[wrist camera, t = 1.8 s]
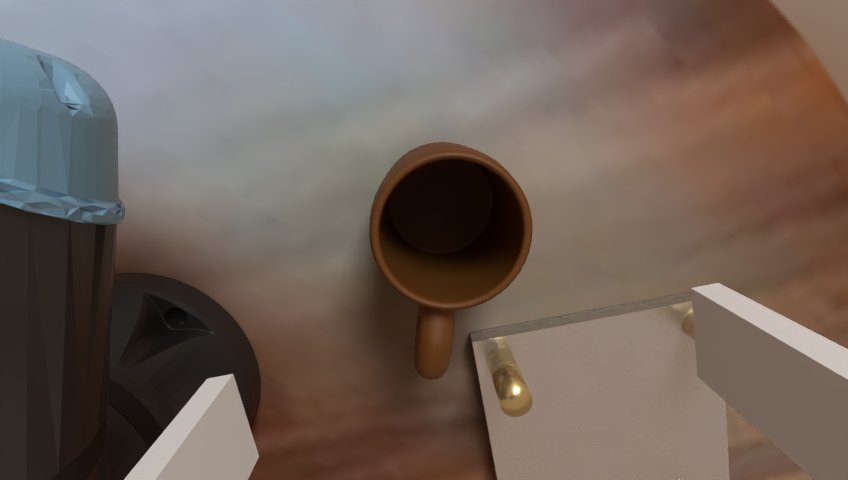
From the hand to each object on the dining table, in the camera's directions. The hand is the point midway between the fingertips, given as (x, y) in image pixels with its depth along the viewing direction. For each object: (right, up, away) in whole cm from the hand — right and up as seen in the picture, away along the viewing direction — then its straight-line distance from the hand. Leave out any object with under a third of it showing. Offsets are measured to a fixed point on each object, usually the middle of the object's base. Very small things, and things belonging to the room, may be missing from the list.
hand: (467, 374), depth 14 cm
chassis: (+12, -11, +21) cm, 26 cm away
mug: (0, +4, +18) cm, 18 cm away
